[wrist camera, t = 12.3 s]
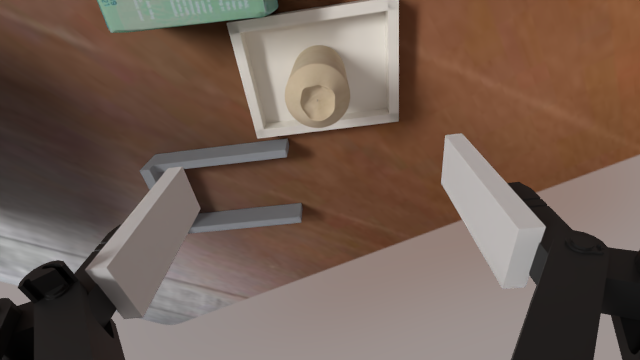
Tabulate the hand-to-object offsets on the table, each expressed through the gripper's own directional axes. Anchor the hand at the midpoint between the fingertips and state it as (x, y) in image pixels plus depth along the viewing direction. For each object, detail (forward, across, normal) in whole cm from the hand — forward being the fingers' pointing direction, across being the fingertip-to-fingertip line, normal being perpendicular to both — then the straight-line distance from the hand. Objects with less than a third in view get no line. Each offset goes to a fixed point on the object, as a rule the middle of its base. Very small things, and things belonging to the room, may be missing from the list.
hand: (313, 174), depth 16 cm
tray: (+21, 0, 0) cm, 21 cm away
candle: (+21, 0, 0) cm, 21 cm away
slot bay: (+22, -13, -13) cm, 28 cm away
